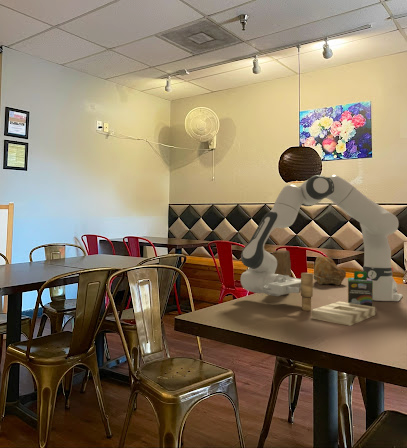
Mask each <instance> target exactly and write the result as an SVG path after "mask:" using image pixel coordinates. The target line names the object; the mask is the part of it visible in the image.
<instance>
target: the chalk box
mask: <svg viewBox="0 0 407 448" xmlns="http://www.w3.org/2000/svg"><path fill="white" fill-rule="evenodd" d="M358 275H362V276H363V277H362V276H361V277H360V276H358ZM347 301H348V302H347V303H353V304H359V305H366V306H372V307H373V301H374V300H373V281H372V279H371V278H367V272H364V271H363V270H362V271H361V270H358V271H357V270H355V271H354V272H353V277H348V278H347Z"/></svg>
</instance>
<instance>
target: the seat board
mask: <svg viewBox="0 0 407 448" xmlns="http://www.w3.org/2000/svg"><path fill="white" fill-rule="evenodd" d="M310 312H311V313H310V314H311V319H314V320H319V321H325V322H328V323H333V324H338V325H344V326H354V325H355V324H358V323H360V322H362V321H365V320H367V319H369V318H372V317H373V316H374V317H375V315H376V306H373V305H372V306H366V305H359V304H353V303H348V302H345V301H340V300H339V301H336V302H332V303H330V304H326V305H323V306H319V307H315V308H313V309H312V308H311V311H310Z"/></svg>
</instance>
